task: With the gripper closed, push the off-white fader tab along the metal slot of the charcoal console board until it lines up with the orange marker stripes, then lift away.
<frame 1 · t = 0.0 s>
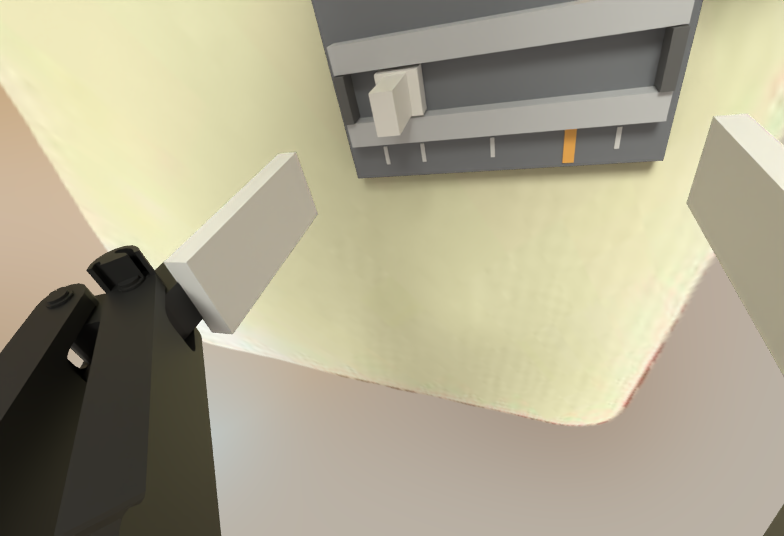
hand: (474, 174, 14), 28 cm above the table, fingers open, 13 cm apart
fader tab: (394, 101, 35), point 6 cm above the table, slide at -8.0 cm
console: (491, 71, 37), on the table
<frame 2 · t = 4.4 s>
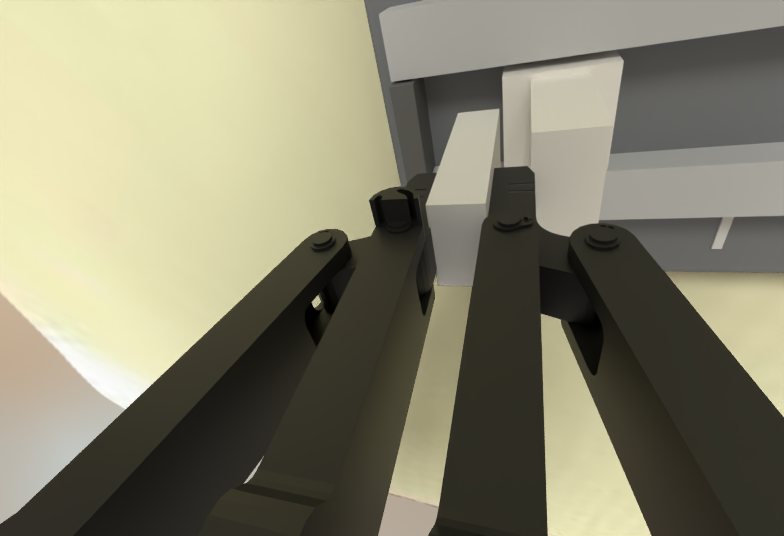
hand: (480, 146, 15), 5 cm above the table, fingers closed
fader tab: (559, 141, 14), point 6 cm above the table, slide at -7.6 cm, touching gripper
console: (755, 68, 16), on the table
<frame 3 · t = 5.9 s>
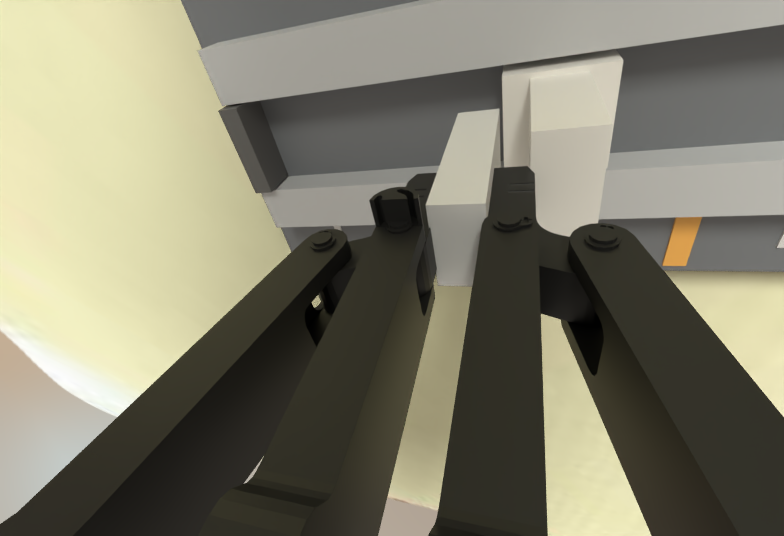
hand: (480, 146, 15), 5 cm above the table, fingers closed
fader tab: (559, 141, 14), point 6 cm above the table, slide at 0.9 cm, touching gripper
console: (530, 94, 19), on the table
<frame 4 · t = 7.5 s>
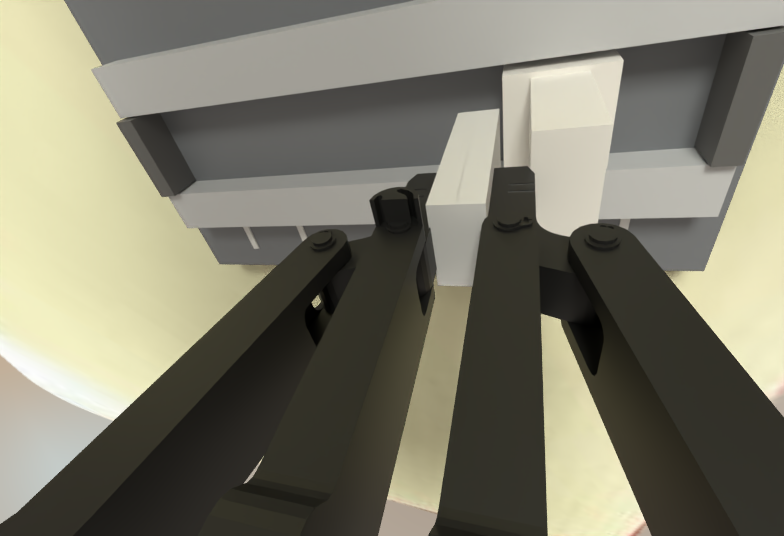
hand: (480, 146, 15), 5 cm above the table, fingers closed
fader tab: (559, 140, 14), point 6 cm above the table, slide at 7.5 cm, touching gripper
console: (397, 109, 21), on the table
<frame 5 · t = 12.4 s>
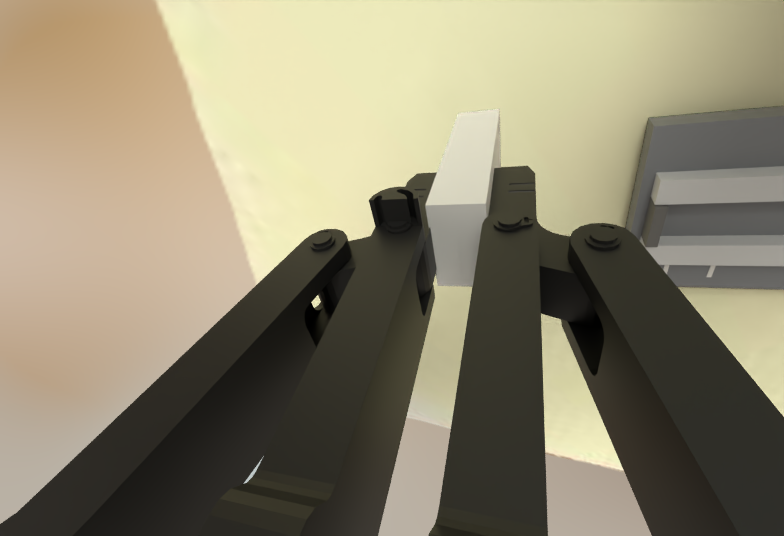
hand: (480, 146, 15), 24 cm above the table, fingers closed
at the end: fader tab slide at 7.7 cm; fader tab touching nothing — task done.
